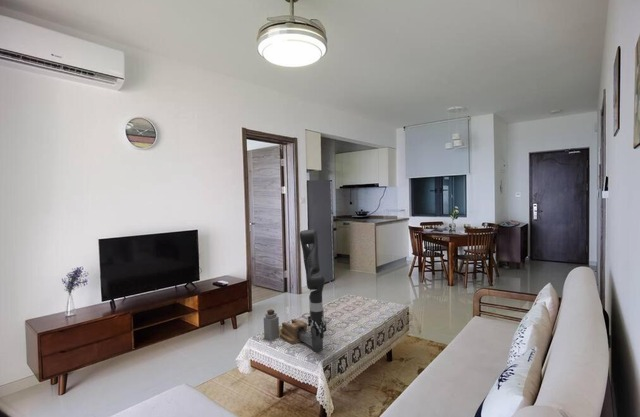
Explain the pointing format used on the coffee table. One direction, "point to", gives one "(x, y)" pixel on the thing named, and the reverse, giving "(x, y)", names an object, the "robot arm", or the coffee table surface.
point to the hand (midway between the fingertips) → (317, 336)
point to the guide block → (292, 331)
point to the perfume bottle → (271, 325)
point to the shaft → (311, 338)
